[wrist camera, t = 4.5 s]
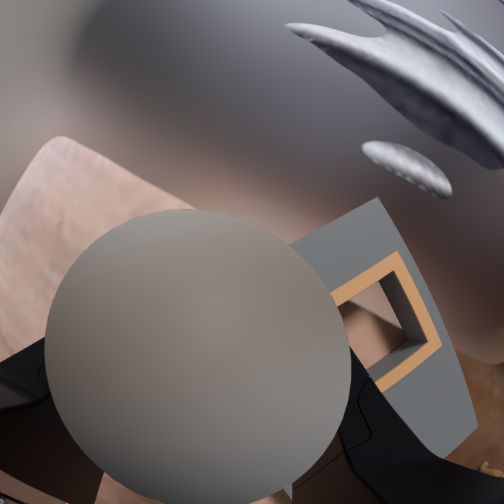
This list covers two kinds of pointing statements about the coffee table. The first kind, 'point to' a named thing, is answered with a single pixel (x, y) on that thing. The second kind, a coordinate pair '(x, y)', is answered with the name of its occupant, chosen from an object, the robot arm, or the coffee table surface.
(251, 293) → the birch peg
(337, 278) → the gray peg hole board
